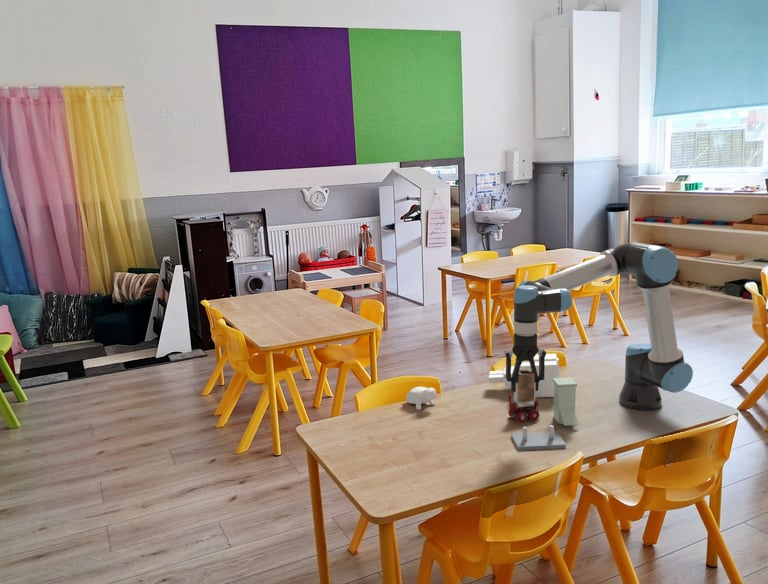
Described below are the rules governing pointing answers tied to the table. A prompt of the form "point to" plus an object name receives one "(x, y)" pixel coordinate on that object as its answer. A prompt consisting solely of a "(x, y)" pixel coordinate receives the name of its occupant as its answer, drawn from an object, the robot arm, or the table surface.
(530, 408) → the toy fire truck
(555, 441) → the pinboard
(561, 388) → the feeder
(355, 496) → the table surface
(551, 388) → the white voxel figure
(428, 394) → the white blocky animal toy
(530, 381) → the sleeve
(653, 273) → the robot arm
